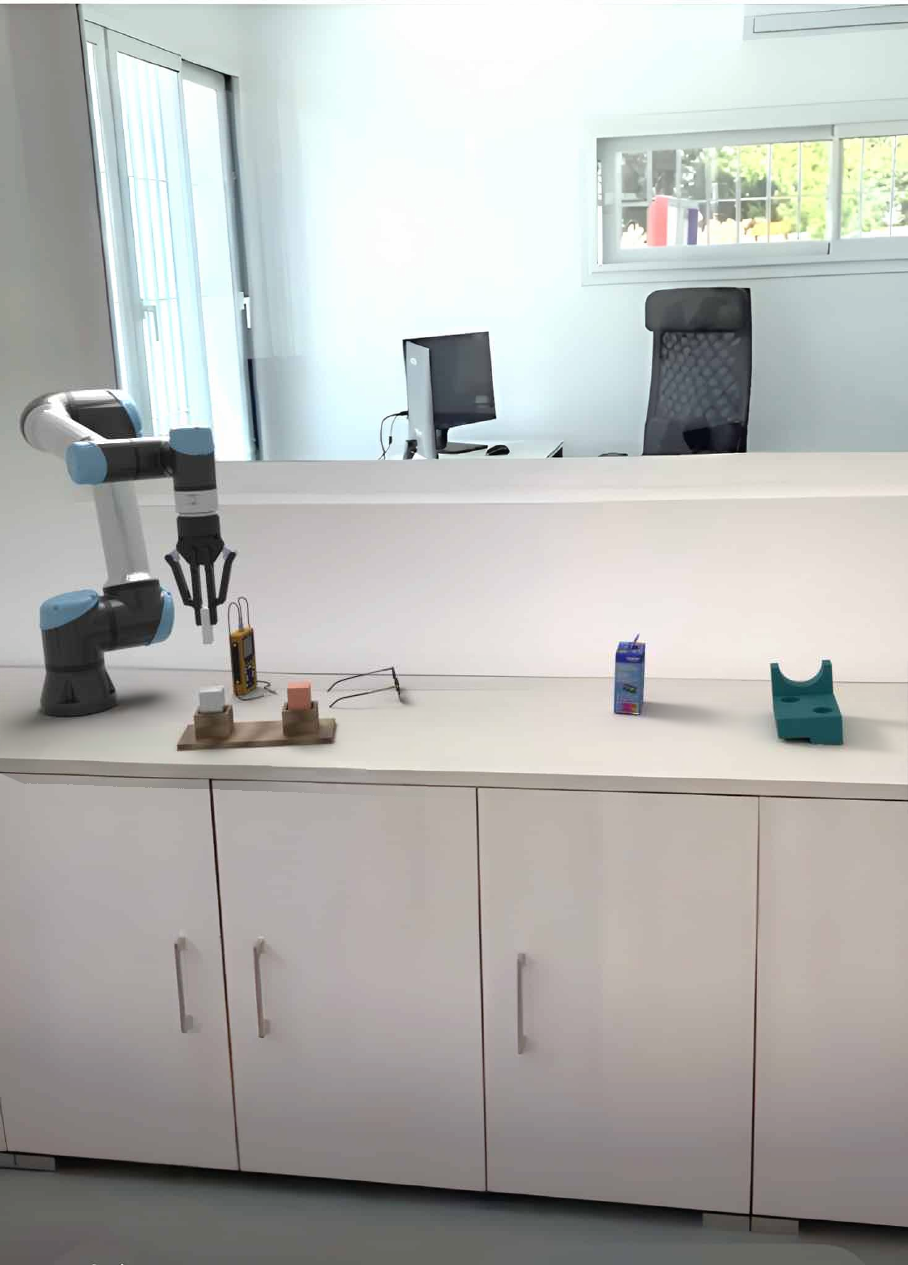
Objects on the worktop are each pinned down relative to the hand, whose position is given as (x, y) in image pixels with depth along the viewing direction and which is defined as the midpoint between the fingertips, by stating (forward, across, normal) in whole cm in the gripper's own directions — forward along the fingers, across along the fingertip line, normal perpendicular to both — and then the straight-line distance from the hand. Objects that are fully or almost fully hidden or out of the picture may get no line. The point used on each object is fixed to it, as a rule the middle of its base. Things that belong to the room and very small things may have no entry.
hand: (208, 642), depth 211 cm
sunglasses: (+19, +26, +24) cm, 40 cm away
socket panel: (+18, +8, 0) cm, 20 cm away
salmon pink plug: (+14, +16, 0) cm, 21 cm away
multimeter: (+18, +5, +32) cm, 37 cm away
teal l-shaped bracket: (+20, +108, -10) cm, 110 cm away
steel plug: (+14, 0, 0) cm, 14 cm away
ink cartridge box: (+19, +79, +8) cm, 82 cm away
